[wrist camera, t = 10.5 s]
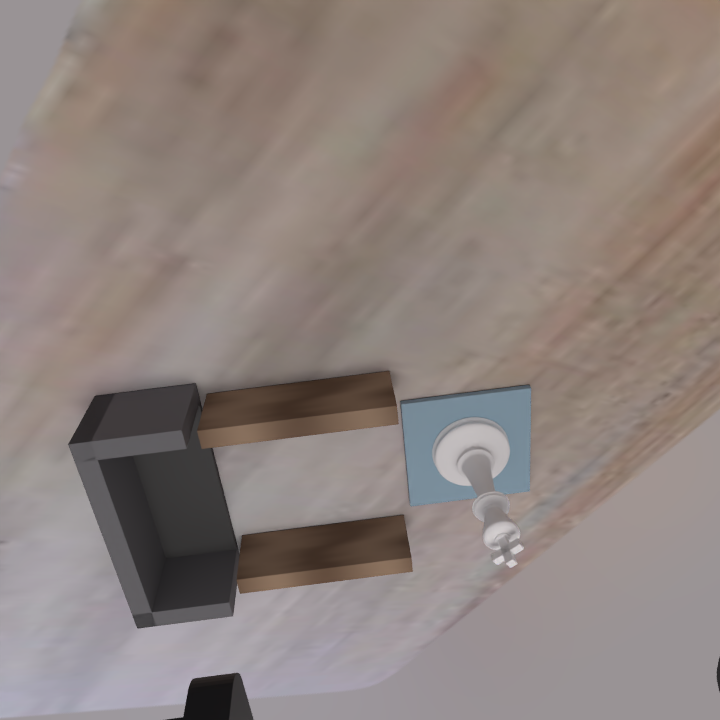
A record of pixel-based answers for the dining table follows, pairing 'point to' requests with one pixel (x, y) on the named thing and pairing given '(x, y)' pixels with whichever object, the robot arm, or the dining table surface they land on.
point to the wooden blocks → (302, 418)
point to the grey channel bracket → (159, 504)
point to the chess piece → (481, 478)
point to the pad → (438, 412)
